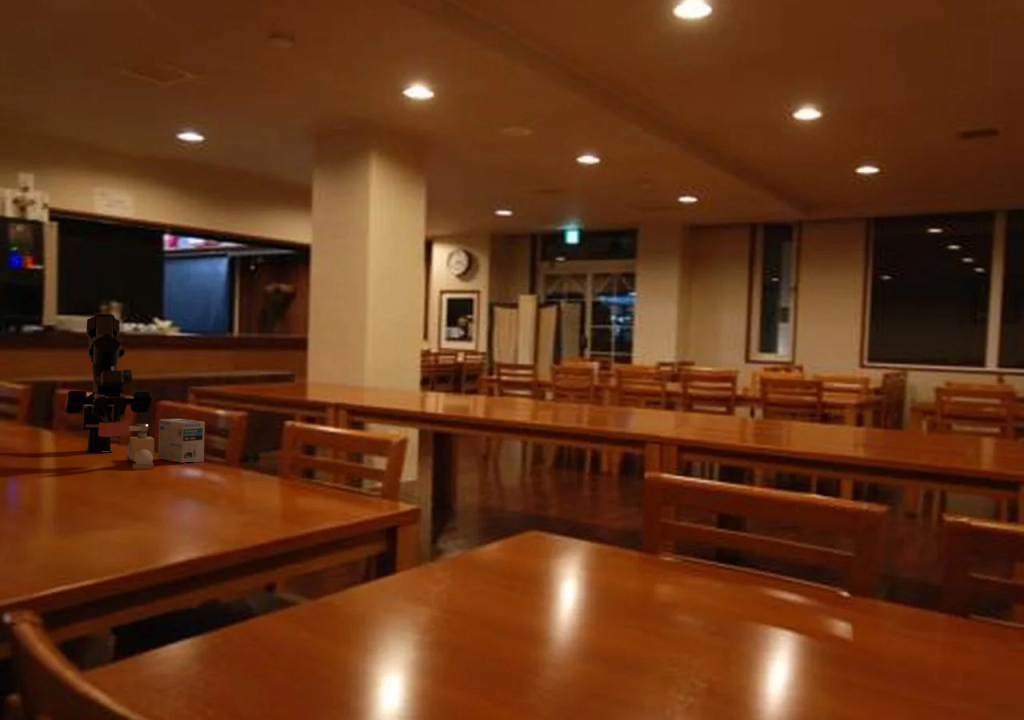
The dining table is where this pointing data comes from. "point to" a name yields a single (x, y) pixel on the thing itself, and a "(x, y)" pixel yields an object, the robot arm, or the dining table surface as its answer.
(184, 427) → the light bulb box
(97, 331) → the robot arm
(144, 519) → the dining table surface
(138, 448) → the valve
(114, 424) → the valve lever
